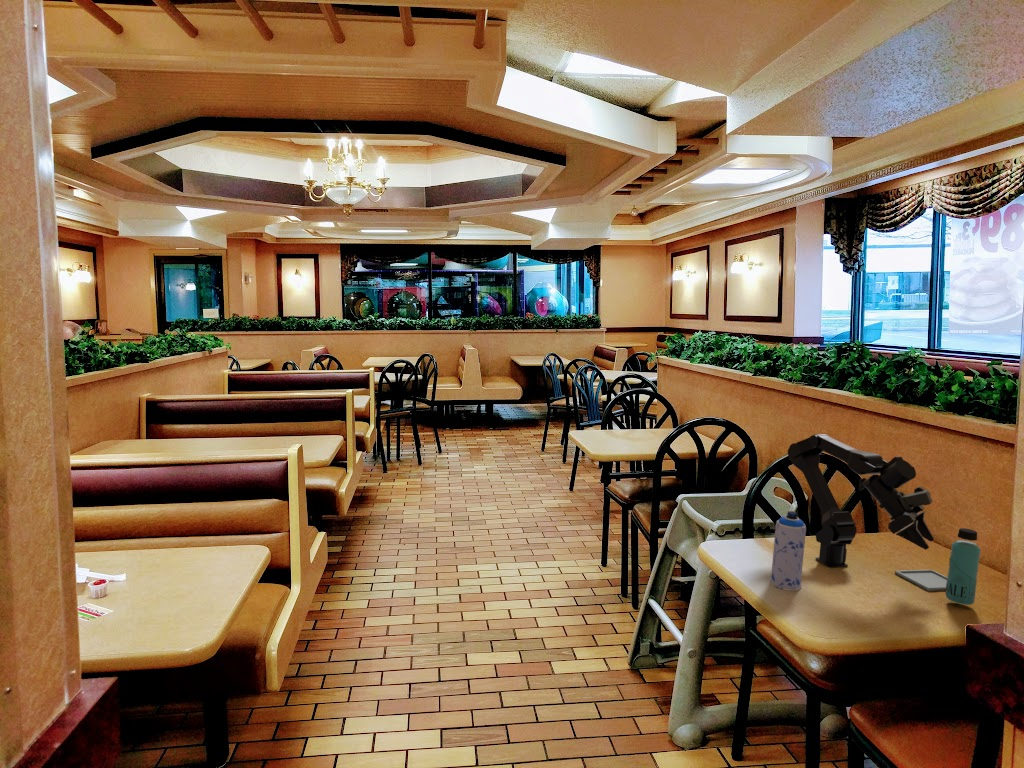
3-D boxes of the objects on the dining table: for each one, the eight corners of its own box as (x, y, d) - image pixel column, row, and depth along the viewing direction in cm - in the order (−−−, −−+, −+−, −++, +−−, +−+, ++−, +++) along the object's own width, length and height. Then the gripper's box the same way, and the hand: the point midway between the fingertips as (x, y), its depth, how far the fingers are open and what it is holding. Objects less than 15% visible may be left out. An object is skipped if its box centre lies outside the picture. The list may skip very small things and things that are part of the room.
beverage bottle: (971, 603, 177) (980, 528, 175) (976, 613, 171) (986, 535, 169) (942, 597, 179) (951, 524, 177) (946, 607, 173) (955, 530, 171)
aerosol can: (787, 578, 188) (793, 507, 186) (807, 589, 181) (815, 515, 179) (763, 580, 186) (770, 508, 183) (783, 591, 178) (790, 517, 176)
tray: (928, 591, 184) (928, 587, 183) (894, 573, 195) (895, 570, 195) (966, 589, 186) (967, 586, 186) (931, 572, 198) (931, 569, 198)
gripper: (907, 483, 173) (953, 536, 167) (918, 473, 188) (962, 520, 182) (869, 507, 179) (913, 559, 173) (884, 495, 193) (925, 542, 188)
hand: (930, 544), depth 179 cm, fingers open, 9 cm apart
